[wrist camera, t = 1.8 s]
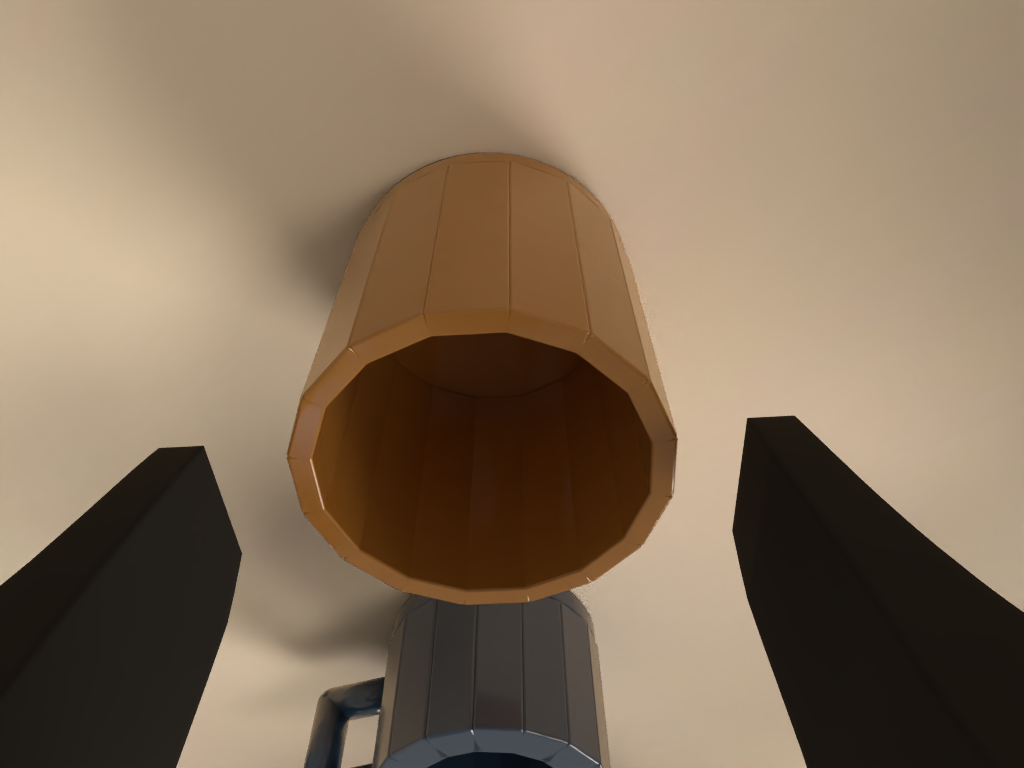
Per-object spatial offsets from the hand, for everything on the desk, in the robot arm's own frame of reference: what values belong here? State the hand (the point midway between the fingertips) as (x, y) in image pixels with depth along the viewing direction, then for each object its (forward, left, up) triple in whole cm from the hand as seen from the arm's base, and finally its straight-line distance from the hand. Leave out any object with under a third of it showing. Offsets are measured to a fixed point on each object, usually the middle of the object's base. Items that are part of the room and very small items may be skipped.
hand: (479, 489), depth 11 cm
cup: (-6, +9, -6) cm, 12 cm away
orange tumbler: (0, 0, -6) cm, 6 cm away
